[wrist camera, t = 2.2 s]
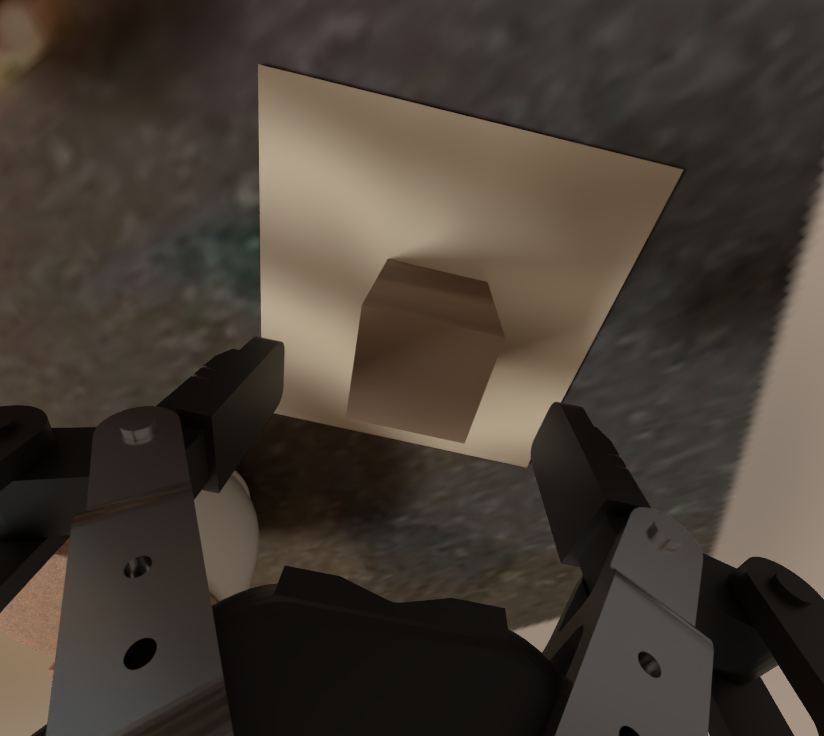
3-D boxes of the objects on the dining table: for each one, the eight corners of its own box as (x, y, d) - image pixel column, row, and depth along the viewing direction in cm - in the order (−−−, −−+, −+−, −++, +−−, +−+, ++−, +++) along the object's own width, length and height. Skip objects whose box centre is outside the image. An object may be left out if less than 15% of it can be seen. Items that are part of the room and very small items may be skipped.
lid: (269, 69, 12) (143, 8, 7) (670, 168, 12) (818, 178, 8) (269, 401, 19) (206, 488, 14) (523, 456, 20) (549, 559, 15)
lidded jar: (314, 469, 21) (229, 672, 13) (257, 559, 26) (172, 744, 18) (121, 383, 18) (-128, 560, 10) (101, 499, 24) (-77, 679, 15)
